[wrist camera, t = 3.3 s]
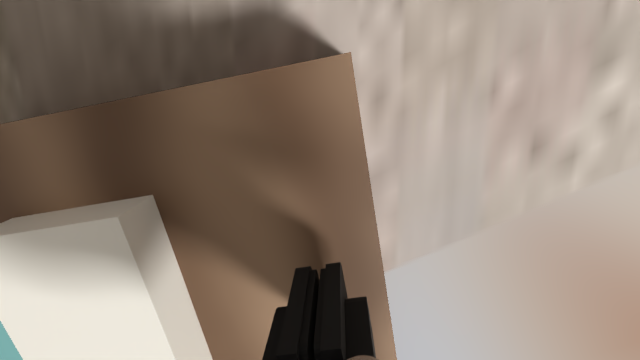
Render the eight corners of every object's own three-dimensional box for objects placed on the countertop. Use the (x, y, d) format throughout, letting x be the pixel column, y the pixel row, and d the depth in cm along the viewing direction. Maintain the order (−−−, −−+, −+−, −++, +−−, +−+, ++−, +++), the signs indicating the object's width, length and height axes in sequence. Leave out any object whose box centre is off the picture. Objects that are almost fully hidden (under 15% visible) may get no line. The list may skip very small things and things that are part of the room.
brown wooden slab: (347, 58, 14) (350, 52, 10) (390, 336, 18) (403, 404, 14) (22, 124, 16) (-79, 140, 12) (131, 362, 20) (83, 429, 16)
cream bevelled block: (152, 194, 12) (117, 216, 10) (219, 378, 15) (201, 423, 13) (12, 218, 13) (-45, 242, 11) (99, 389, 15) (66, 433, 13)
